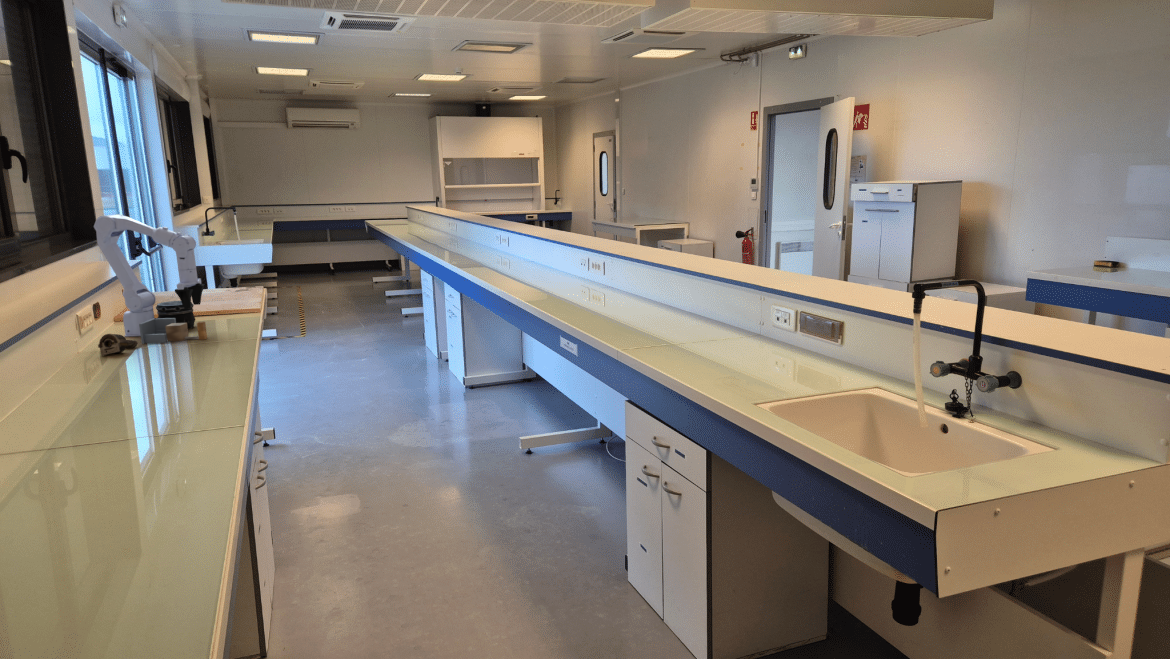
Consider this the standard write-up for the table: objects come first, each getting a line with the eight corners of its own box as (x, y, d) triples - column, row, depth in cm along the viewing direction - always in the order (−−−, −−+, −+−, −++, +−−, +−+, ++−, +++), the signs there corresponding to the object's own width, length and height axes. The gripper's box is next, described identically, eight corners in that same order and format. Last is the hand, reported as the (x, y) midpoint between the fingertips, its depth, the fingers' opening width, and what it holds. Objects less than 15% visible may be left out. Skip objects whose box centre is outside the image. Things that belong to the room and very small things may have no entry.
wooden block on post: (167, 341, 256) (165, 324, 255) (174, 338, 261) (172, 321, 260) (202, 340, 257) (200, 323, 255) (209, 337, 261) (207, 320, 260)
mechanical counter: (86, 339, 237) (105, 334, 232) (123, 328, 248) (142, 323, 244) (95, 360, 238) (114, 356, 234) (131, 348, 250) (150, 343, 245)
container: (203, 325, 285) (200, 299, 283) (182, 332, 272) (179, 305, 270) (172, 325, 286) (169, 300, 284) (150, 332, 273) (146, 305, 271)
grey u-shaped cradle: (141, 343, 253) (139, 324, 252) (156, 337, 263) (153, 318, 261) (164, 343, 254) (161, 323, 252) (178, 337, 263) (175, 318, 262)
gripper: (189, 271, 259) (194, 309, 261) (207, 266, 273) (212, 302, 276) (168, 272, 258) (174, 310, 261) (188, 267, 272) (192, 303, 275)
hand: (192, 306), depth 268 cm, fingers open, 7 cm apart
